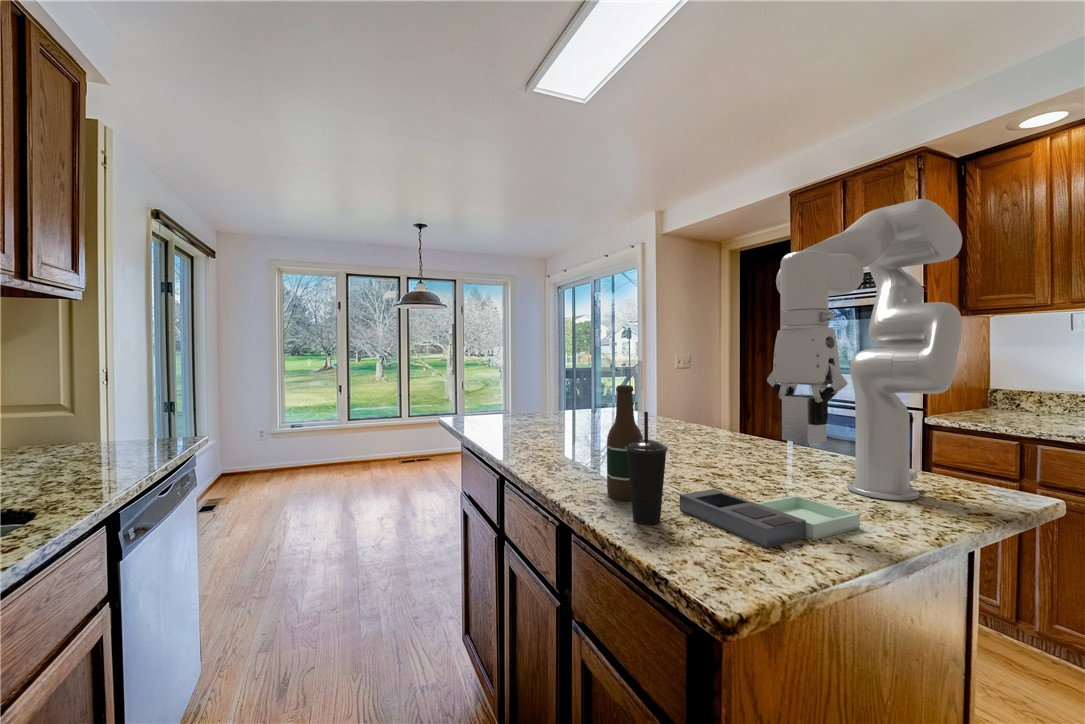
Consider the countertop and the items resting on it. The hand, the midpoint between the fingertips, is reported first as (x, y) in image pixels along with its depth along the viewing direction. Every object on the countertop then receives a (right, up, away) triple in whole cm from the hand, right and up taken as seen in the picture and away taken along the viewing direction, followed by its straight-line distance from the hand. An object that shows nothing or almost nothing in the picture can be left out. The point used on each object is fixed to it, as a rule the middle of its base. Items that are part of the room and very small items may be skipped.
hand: (803, 421), depth 83 cm
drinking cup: (-28, -19, +2) cm, 34 cm away
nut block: (0, -3, 0) cm, 3 cm away
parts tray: (0, -18, 0) cm, 18 cm away
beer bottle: (-29, -19, +17) cm, 38 cm away
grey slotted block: (-12, -18, 0) cm, 22 cm away
